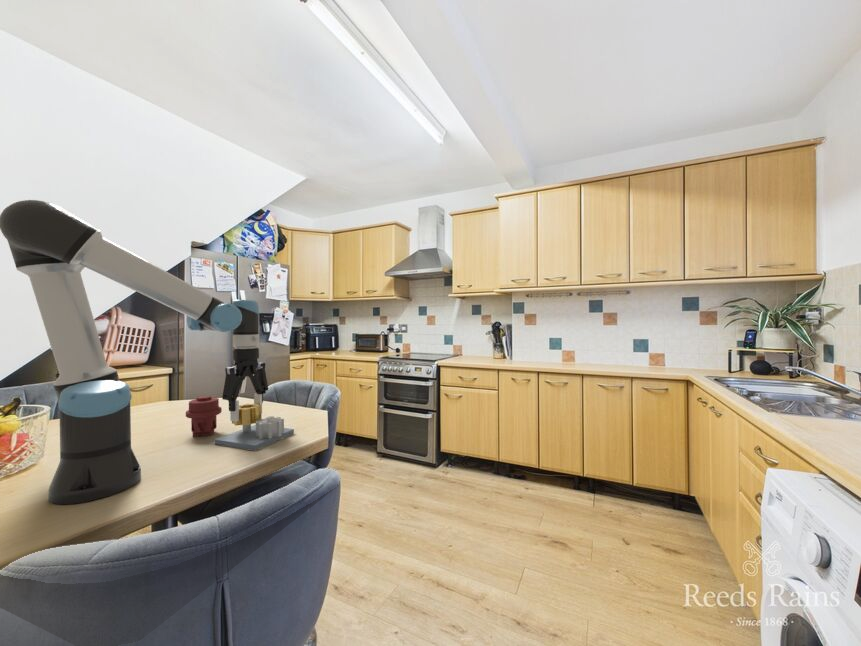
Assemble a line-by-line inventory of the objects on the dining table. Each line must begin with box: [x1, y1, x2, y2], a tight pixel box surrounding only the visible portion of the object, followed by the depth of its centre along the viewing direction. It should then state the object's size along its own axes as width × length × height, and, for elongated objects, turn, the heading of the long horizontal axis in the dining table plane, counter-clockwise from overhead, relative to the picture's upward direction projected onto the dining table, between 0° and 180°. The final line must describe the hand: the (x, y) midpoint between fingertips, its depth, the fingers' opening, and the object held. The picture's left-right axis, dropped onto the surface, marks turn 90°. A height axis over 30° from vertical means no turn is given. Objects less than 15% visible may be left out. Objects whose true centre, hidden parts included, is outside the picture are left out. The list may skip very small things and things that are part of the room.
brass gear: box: [231, 403, 263, 426], centre depth 114 cm, size 8×8×5 cm
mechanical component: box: [185, 395, 223, 437], centre depth 117 cm, size 12×10×10 cm
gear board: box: [214, 415, 295, 452], centre depth 112 cm, size 16×17×7 cm
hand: (246, 416), depth 114 cm, fingers closed on brass gear, 8 cm apart
